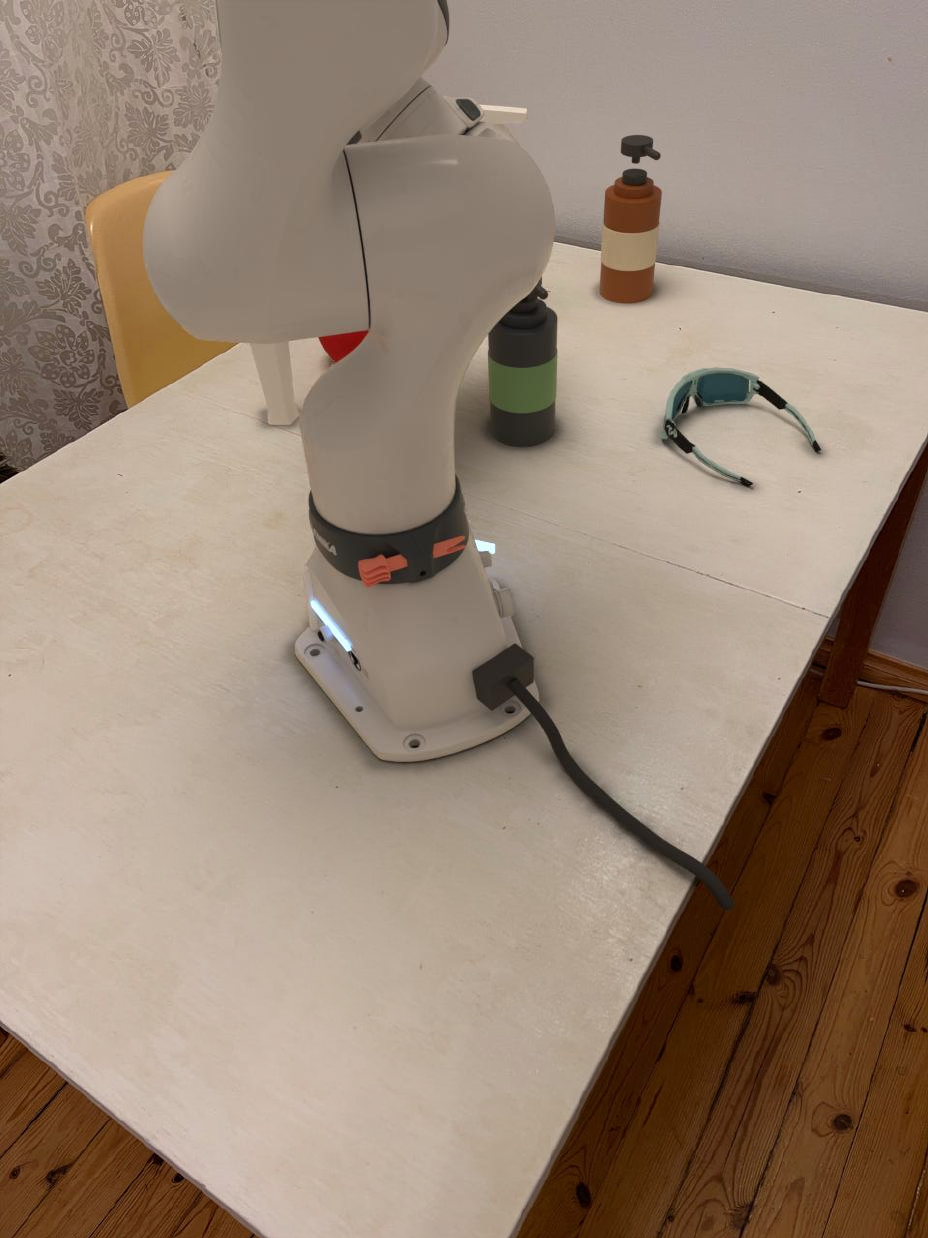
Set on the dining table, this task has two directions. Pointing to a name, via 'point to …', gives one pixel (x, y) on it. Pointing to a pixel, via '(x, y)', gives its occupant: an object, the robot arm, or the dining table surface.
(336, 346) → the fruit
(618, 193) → the amber bottle
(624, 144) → the dark grey pump head
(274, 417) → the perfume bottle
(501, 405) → the dark grey pump bottle
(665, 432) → the sunglasses
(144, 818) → the dining table surface
